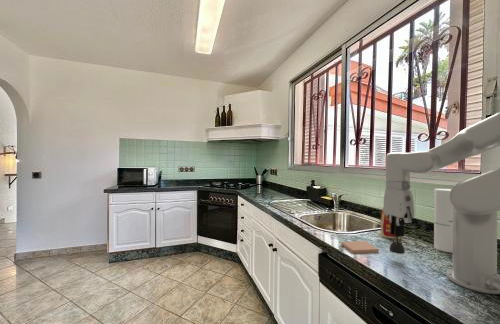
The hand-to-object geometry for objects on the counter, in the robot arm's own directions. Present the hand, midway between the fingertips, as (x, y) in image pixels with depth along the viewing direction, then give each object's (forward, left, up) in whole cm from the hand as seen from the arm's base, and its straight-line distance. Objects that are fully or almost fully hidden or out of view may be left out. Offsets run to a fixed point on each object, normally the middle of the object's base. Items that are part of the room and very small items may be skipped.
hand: (397, 234), depth 82 cm
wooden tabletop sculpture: (-1, 0, -6) cm, 6 cm away
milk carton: (+26, -18, -10) cm, 33 cm away
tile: (+12, +2, -9) cm, 15 cm away
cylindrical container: (+8, -28, -10) cm, 31 cm away
